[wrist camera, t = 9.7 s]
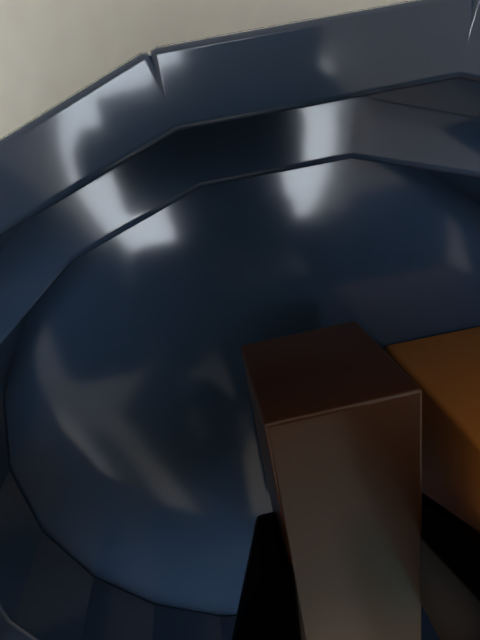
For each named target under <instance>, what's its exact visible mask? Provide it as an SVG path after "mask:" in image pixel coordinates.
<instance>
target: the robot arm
mask: <svg viewBox="0 0 480 640" xmlns="http://www.w3.org/2000/svg"><path fill="white" fill-rule="evenodd" d="M420 602H421V604H422V606H423V608H424V610H425V612H426V614H427V616H428V618H429V620H430V622H431V624H432V626H433V628H434V629H435V631H436V633H437V635H438V637H439V639H440V640H480V532H479V531H478V530H476V529H475V528H473V527H472V526H470V525H469V524H467V523H466V522H464V521H463V520H462V519H460V518H459V517H457V516H456V515H454V514H453V513H451V512H450V511H449V510H447V509H446V508H444V507H443V506H441V505H440V504H438V503H437V502H436V501H434V500H433V499H431V498H430V497H428V496H427V495H425V494H424V493H423V492H422V533H421V535H420ZM232 640H306V635H305V630H304V624H303V619H302V614H301V608H300V603H299V597H298V592H297V586H296V581H295V575H294V570H293V567H292V565H291V564H290V563H289V561H288V557H287V553H286V549H285V546H284V542H283V538H282V535H281V531H280V527H279V524H278V520H277V516H276V513H275V512H270V513H266V514H261V515H259V516H258V517H257V519H256V522H255V527H254V532H253V537H252V542H251V547H250V552H249V557H248V561H247V566H246V571H245V576H244V581H243V586H242V591H241V596H240V601H239V606H238V610H237V615H236V620H235V625H234V630H233V635H232Z"/></svg>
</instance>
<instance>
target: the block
mask: <svg viewBox="0 0 480 640" xmlns="http://www.w3.org/2000/svg"><path fill="white" fill-rule="evenodd" d="M386 353H387V354H388V355H389V356H390V357H391V358H392V359H393V360H394V361H395V362H396V363H397V364H398V365H399V366H400V367H401V368H402V369H403V370H404V371H405V372H406V373H407V374H408V375H409V376H410V378H411V379H412V380H413V381H414V382H415V383H416V384H417V385H418V386H419V387H420V388H421V390H422V492H423V493H424V494H425V495H427V496H428V497H430V498H431V499H433V500H434V501H436V502H437V503H438V504H440V505H441V506H443V507H444V508H446V509H447V510H449V511H450V512H451V513H453V514H454V515H456V516H457V517H459V518H460V519H462V520H463V521H464V522H466V523H467V524H469V525H470V526H472V527H473V528H475V529H476V530H478V531H479V532H480V327H475V328H470V329H465V330H461V331H456V332H451V333H446V334H441V335H436V336H431V337H426V338H421V339H416V340H412V341H407V342H402V343H397V344H392V345H388V346H386Z"/></svg>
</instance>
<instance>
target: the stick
mask: <svg viewBox="0 0 480 640" xmlns="http://www.w3.org/2000/svg"><path fill="white" fill-rule="evenodd" d="M241 353H242V358H243V363H244V368H245V373H246V378H247V383H248V388H249V393H250V398H251V403H252V409H253V414H254V419H255V424H256V429H257V434H258V439H259V444H260V449H261V454H262V459H263V464H264V470H265V475H266V480H267V485H268V490H269V495H270V500H271V505H272V510H273V512H275V513H276V516H277V520H278V524H279V527H280V531H281V535H282V538H283V542H284V546H285V549H286V553H287V557H288V561H289V563H290V564H291V565H292V567H293V570H294V575H295V581H296V586H297V592H298V597H299V603H300V608H301V614H302V619H303V624H304V630H305V635H306V640H421V602H420V535H421V533H422V390H421V388H420V387H419V386H418V385H417V384H416V383H415V382H414V381H413V380H412V379H411V378H410V376H409V375H408V374H407V373H406V372H405V371H404V370H403V369H402V368H401V367H400V366H399V365H398V364H397V363H396V362H395V361H394V360H393V359H392V358H391V357H390V356H389V355H388V354H387V353H386V352H385V351H384V350H383V349H382V348H381V347H380V346H379V345H378V344H377V342H376V341H375V340H374V339H373V338H372V337H371V336H370V335H369V334H368V333H367V332H366V331H365V330H364V329H363V328H362V327H361V326H360V325H359V324H358V323H357V322H356V321H352V322H347V323H343V324H338V325H333V326H329V327H324V328H320V329H315V330H311V331H306V332H301V333H297V334H292V335H288V336H283V337H278V338H274V339H269V340H265V341H260V342H255V343H251V344H246V345H243V346H241Z"/></svg>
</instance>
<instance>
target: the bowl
mask: <svg viewBox="0 0 480 640" xmlns="http://www.w3.org/2000/svg"><path fill="white" fill-rule="evenodd" d="M352 321H356V322H357V323H358V324H359V325H360V326H361V327H362V328H363V329H364V330H365V331H366V332H367V333H368V334H369V335H370V336H371V337H372V338H373V339H374V340H375V341H376V342H377V344H378V345H379V346H380V347H381V348H382V349H383V350H384V351H385V352H386V346H388V345H392V344H397V343H402V342H407V341H412V340H416V339H421V338H426V337H431V336H436V335H441V334H446V333H451V332H456V331H461V330H465V329H470V328H475V327H480V0H411V1H406V2H400V3H395V4H389V5H383V6H378V7H372V8H367V9H361V10H356V11H350V12H345V13H339V14H334V15H328V16H323V17H317V18H312V19H306V20H300V21H295V22H289V23H284V24H278V25H273V26H267V27H262V28H256V29H251V30H245V31H240V32H234V33H228V34H223V35H217V36H212V37H206V38H201V39H195V40H190V41H184V42H179V43H173V44H168V45H162V46H156V47H155V48H153V49H152V50H151V52H150V55H149V54H148V53H147V52H144V53H139V54H137V55H136V56H134V57H132V58H131V59H129V60H128V61H126V62H124V63H123V64H121V65H119V66H118V67H116V68H115V69H113V70H111V71H110V72H108V73H107V74H105V75H103V76H102V77H100V78H98V79H97V80H95V81H94V82H92V83H90V84H89V85H87V86H85V87H84V88H82V89H81V90H79V91H77V92H76V93H74V94H72V95H71V96H69V97H68V98H66V99H64V100H63V101H61V102H59V103H58V104H56V105H55V106H53V107H51V108H50V109H48V110H46V111H45V112H43V113H42V114H40V115H38V116H37V117H35V118H33V119H32V120H30V121H29V122H27V123H25V124H24V125H22V126H20V127H19V128H17V129H16V130H14V131H12V132H11V133H9V134H7V135H6V136H4V137H3V138H1V139H0V640H232V635H233V630H234V625H235V620H236V615H237V610H238V606H239V601H240V596H241V591H242V586H243V581H244V576H245V571H246V566H247V561H248V557H249V552H250V547H251V542H252V537H253V532H254V527H255V522H256V519H257V517H258V516H259V515H261V514H266V513H270V512H273V510H272V505H271V500H270V495H269V490H268V485H267V480H266V475H265V470H264V464H263V459H262V454H261V449H260V444H259V439H258V434H257V429H256V424H255V419H254V414H253V409H252V403H251V398H250V393H249V388H248V383H247V378H246V373H245V368H244V363H243V358H242V353H241V346H243V345H246V344H251V343H255V342H260V341H265V340H269V339H274V338H278V337H283V336H288V335H292V334H297V333H301V332H306V331H311V330H315V329H320V328H324V327H329V326H333V325H338V324H343V323H347V322H352ZM421 640H440V639H439V637H438V635H437V633H436V631H435V629H434V628H433V626H432V624H431V622H430V620H429V618H428V616H427V614H426V612H425V610H424V608H423V606H422V604H421Z"/></svg>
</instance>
